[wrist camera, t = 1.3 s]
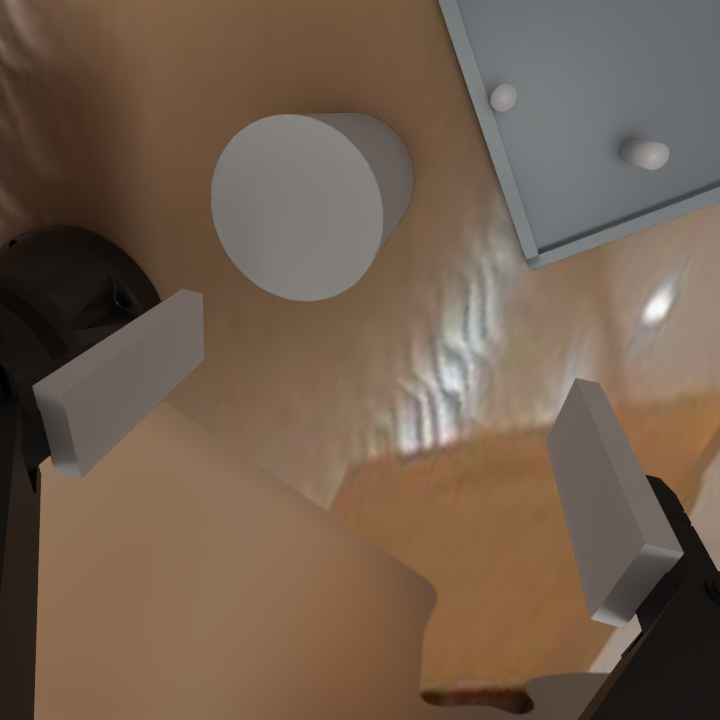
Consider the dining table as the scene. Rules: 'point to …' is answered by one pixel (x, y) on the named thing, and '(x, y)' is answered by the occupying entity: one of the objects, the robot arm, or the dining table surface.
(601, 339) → the dining table surface
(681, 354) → the dining table surface
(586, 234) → the tray
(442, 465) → the dining table surface
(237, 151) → the cup
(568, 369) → the dining table surface
